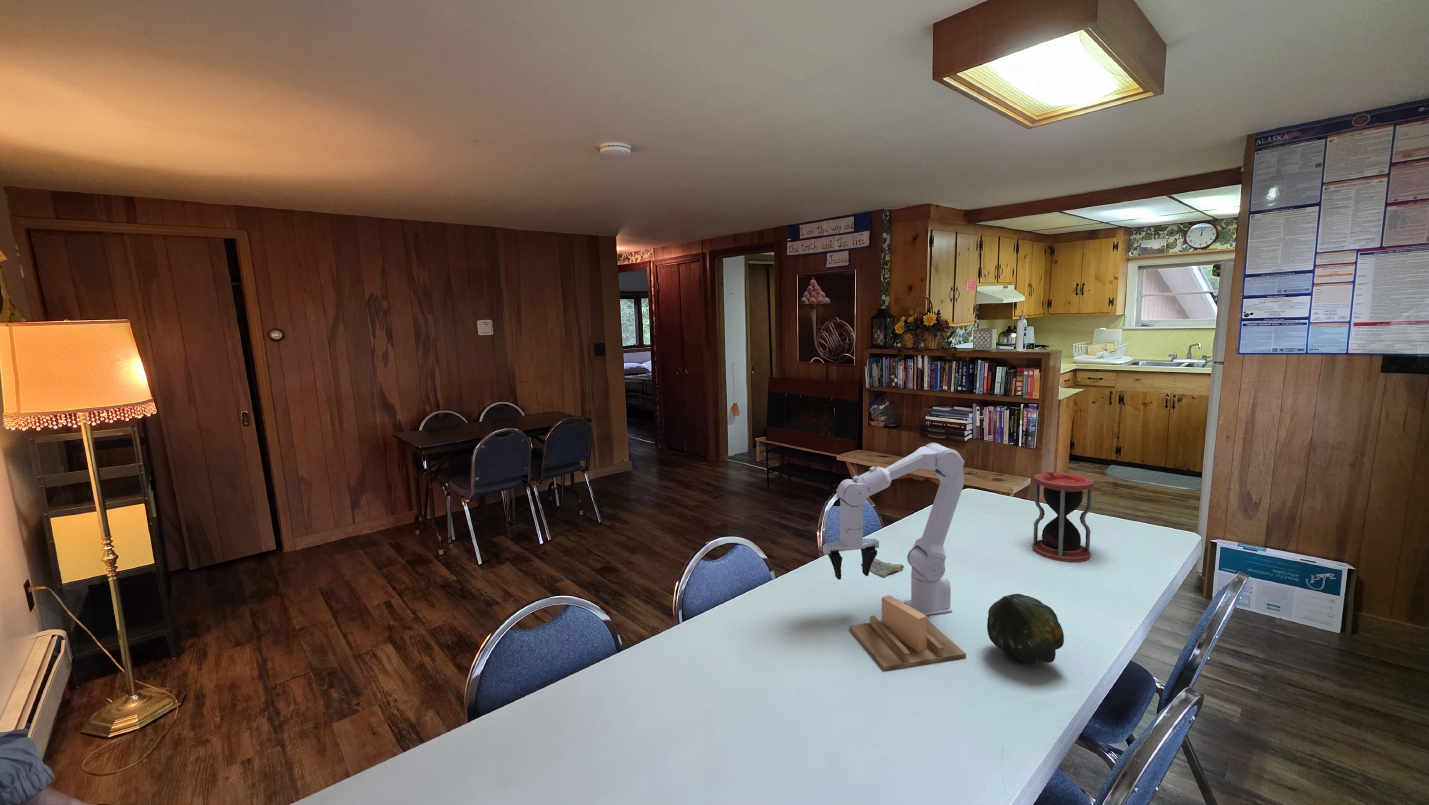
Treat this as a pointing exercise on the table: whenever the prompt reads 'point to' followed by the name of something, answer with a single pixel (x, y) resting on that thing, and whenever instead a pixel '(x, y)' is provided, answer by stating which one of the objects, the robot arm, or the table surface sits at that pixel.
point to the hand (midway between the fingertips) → (851, 576)
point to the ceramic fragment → (884, 568)
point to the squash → (1024, 629)
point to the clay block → (905, 623)
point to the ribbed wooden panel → (904, 646)
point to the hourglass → (1062, 517)
